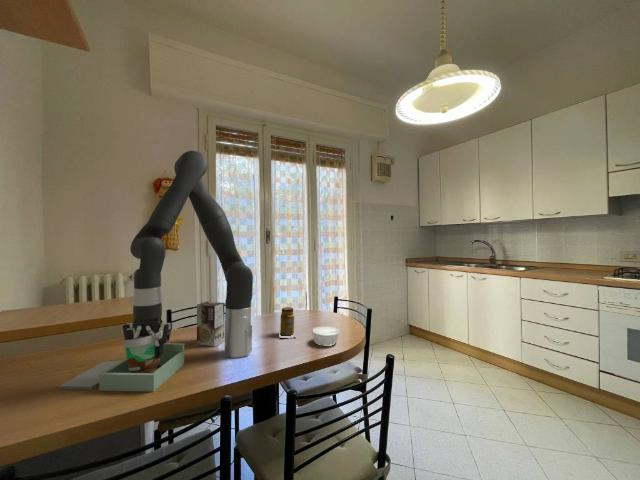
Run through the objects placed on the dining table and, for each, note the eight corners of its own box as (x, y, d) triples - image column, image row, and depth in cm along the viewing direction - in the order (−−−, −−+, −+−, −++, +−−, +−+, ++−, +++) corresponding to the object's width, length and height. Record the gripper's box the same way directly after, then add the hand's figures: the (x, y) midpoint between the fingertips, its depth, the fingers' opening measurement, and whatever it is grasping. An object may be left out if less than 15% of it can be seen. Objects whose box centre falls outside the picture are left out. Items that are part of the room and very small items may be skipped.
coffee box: (224, 341, 115) (225, 302, 115) (214, 347, 109) (214, 305, 109) (207, 338, 118) (207, 300, 118) (195, 344, 112) (196, 303, 112)
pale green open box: (184, 364, 94) (184, 343, 94) (153, 391, 77) (154, 365, 77) (139, 363, 94) (139, 342, 94) (99, 390, 77) (99, 365, 77)
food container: (143, 376, 78) (141, 340, 78) (124, 375, 79) (122, 340, 79) (173, 357, 90) (171, 327, 91) (157, 358, 92) (155, 327, 92)
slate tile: (131, 364, 93) (131, 361, 93) (91, 389, 77) (91, 386, 77) (104, 363, 93) (104, 361, 93) (59, 389, 77) (59, 386, 77)
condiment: (293, 332, 128) (294, 306, 128) (296, 338, 120) (296, 310, 120) (278, 333, 127) (278, 306, 127) (279, 339, 119) (279, 311, 119)
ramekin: (331, 350, 108) (331, 336, 108) (306, 344, 113) (307, 331, 113) (343, 341, 118) (343, 329, 118) (320, 336, 123) (320, 324, 123)
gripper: (177, 299, 89) (177, 352, 89) (132, 299, 89) (132, 352, 89) (164, 304, 81) (164, 362, 81) (115, 304, 81) (115, 362, 81)
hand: (147, 357), depth 85 cm, fingers closed on food container, 5 cm apart
